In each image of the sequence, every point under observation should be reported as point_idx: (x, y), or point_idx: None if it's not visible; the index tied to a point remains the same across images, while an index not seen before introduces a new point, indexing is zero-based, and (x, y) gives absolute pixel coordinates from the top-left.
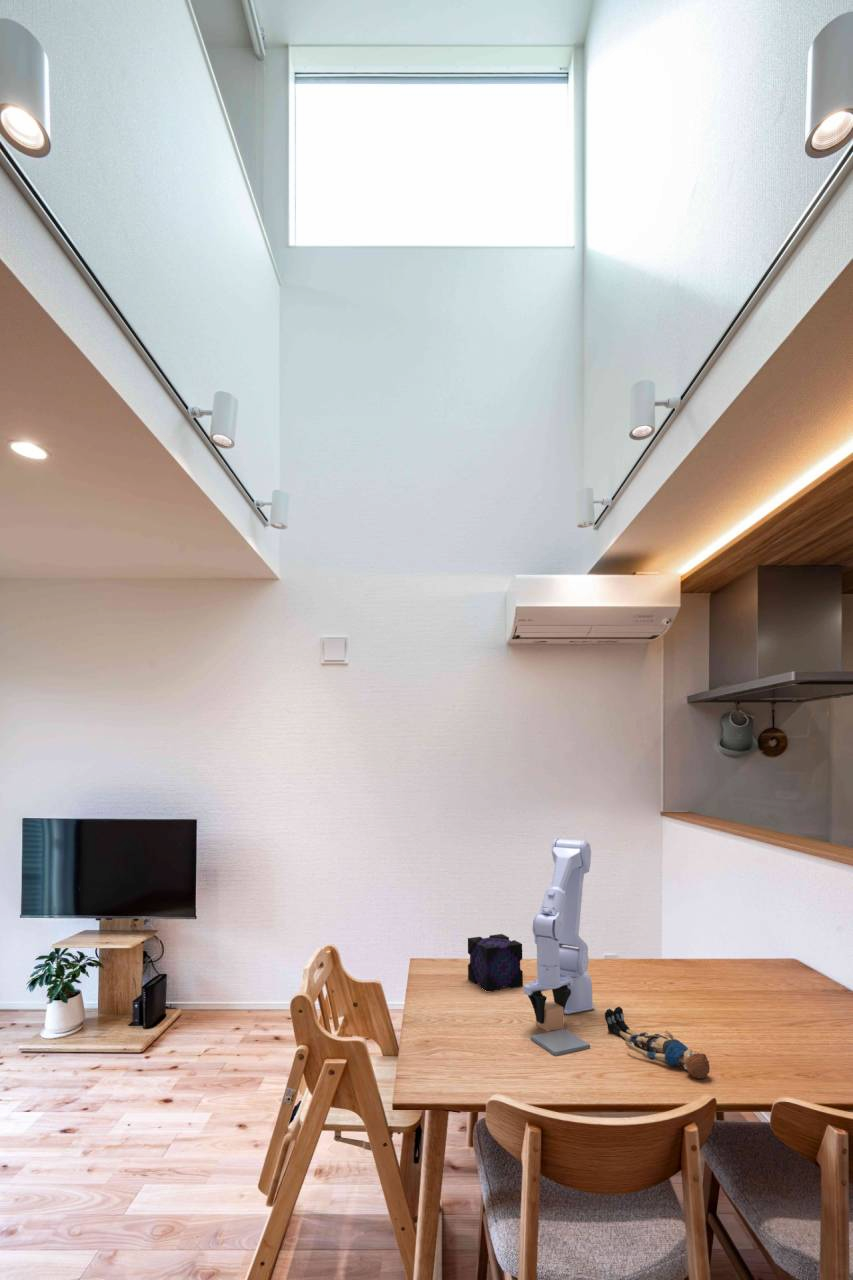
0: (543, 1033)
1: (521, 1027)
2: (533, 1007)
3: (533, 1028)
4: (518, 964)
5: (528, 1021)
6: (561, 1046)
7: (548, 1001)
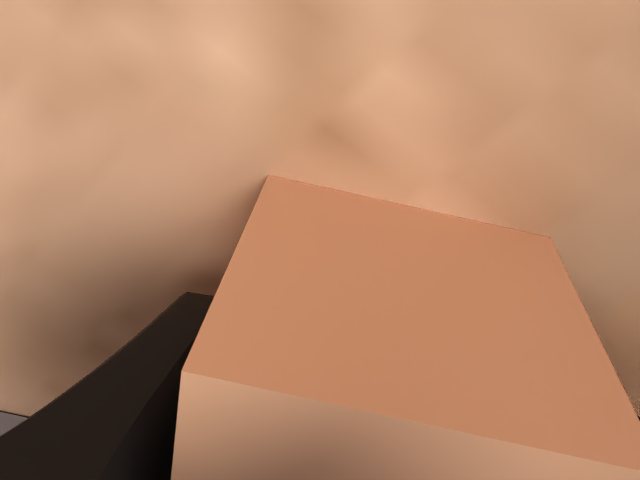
0: None
1: (13, 131)
2: (46, 414)
3: (143, 247)
4: None
5: (240, 30)
6: None
7: (558, 458)
